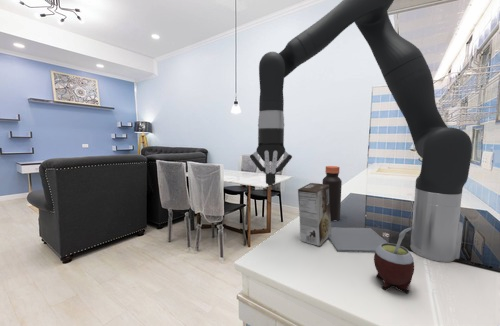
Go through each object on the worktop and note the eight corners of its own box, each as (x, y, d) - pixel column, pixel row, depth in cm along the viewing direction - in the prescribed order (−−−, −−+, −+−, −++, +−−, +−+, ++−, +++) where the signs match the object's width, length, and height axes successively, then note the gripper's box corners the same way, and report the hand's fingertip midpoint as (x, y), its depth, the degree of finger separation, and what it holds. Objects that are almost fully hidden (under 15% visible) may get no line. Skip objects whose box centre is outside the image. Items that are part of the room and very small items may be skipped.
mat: (370, 229, 74) (370, 228, 74) (397, 253, 59) (398, 251, 59) (322, 228, 75) (322, 227, 74) (337, 251, 60) (337, 249, 60)
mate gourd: (383, 270, 51) (387, 208, 49) (423, 290, 44) (430, 219, 43) (364, 281, 47) (368, 214, 46) (405, 305, 41) (412, 227, 39)
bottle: (343, 219, 83) (346, 167, 81) (331, 222, 80) (334, 168, 78) (329, 213, 89) (331, 165, 87) (317, 217, 86) (319, 166, 84)
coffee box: (312, 230, 73) (310, 182, 71) (331, 234, 69) (330, 184, 67) (299, 241, 66) (296, 188, 64) (320, 246, 62) (318, 190, 60)
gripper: (292, 128, 68) (290, 183, 70) (249, 128, 68) (249, 182, 70) (295, 126, 60) (294, 188, 62) (247, 126, 61) (247, 187, 63)
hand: (270, 185), depth 66 cm, fingers closed
